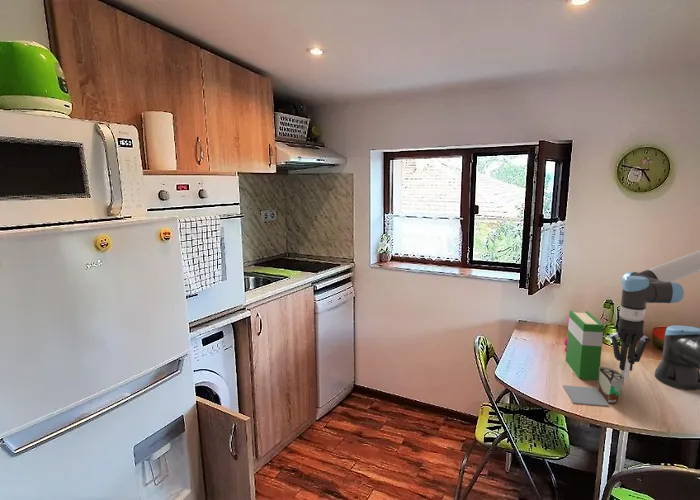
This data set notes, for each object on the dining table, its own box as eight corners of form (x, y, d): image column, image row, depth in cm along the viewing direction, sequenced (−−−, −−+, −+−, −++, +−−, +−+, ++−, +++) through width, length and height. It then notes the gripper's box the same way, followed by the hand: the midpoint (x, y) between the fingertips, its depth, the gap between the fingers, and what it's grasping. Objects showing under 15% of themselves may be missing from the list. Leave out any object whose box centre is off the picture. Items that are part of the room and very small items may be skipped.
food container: (628, 407, 150) (631, 382, 148) (609, 406, 151) (612, 381, 149) (614, 390, 162) (616, 367, 160) (596, 389, 163) (599, 365, 161)
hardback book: (565, 360, 188) (569, 310, 184) (583, 361, 187) (587, 311, 183) (579, 378, 171) (583, 324, 167) (598, 380, 170) (603, 325, 166)
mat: (595, 388, 163) (595, 387, 163) (608, 406, 151) (608, 405, 151) (562, 386, 166) (562, 385, 166) (573, 403, 153) (573, 402, 153)
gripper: (616, 320, 147) (609, 381, 152) (657, 322, 145) (649, 384, 149) (607, 313, 155) (601, 371, 159) (646, 315, 152) (639, 374, 156)
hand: (624, 377), depth 154 cm, fingers closed
